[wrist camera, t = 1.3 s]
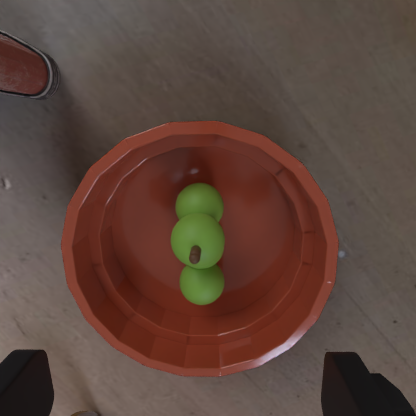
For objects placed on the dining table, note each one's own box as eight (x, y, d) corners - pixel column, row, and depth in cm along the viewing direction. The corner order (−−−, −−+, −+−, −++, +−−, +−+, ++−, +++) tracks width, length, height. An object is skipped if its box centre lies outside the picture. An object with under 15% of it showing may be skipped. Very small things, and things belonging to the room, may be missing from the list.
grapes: (177, 179, 18) (158, 203, 12) (223, 178, 18) (225, 202, 12) (183, 289, 20) (168, 356, 14) (224, 289, 20) (227, 357, 14)
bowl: (83, 126, 18) (40, 125, 14) (318, 120, 17) (351, 117, 13) (108, 326, 22) (81, 376, 17) (303, 326, 21) (326, 377, 17)
